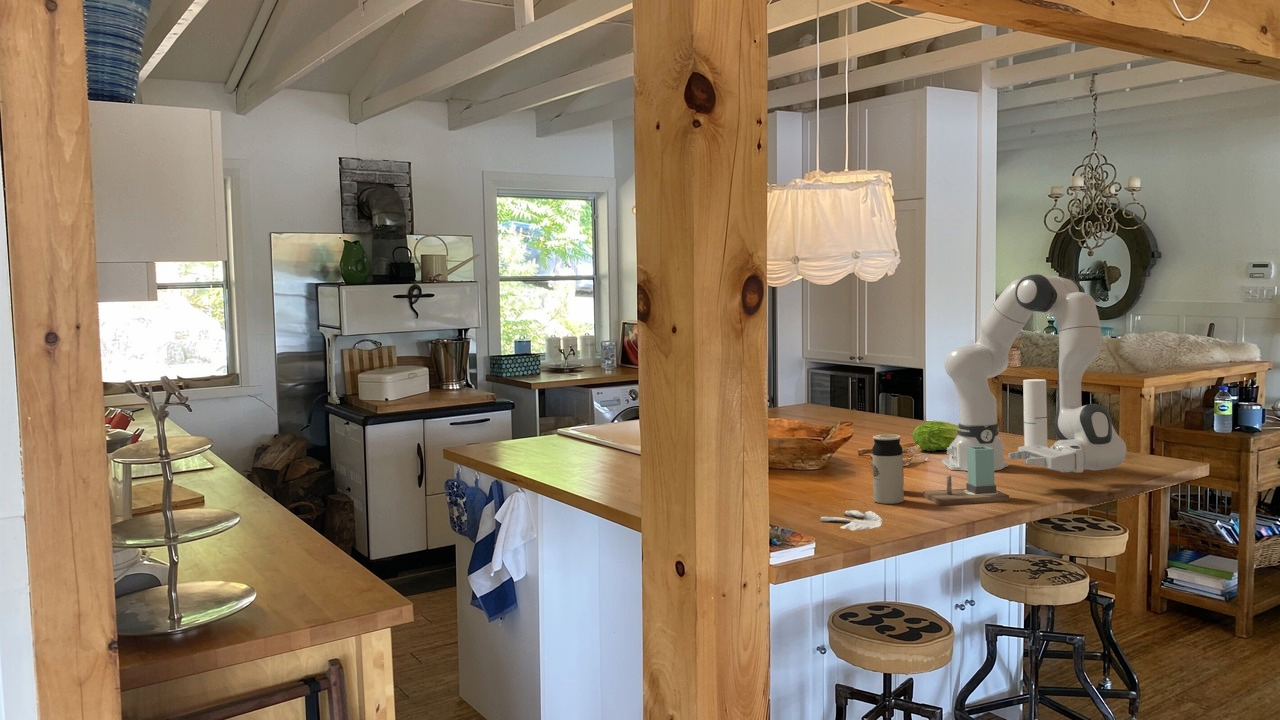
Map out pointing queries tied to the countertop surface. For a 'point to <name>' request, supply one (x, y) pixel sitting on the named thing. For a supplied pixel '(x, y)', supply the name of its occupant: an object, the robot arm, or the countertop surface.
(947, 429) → the lettuce
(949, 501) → the pin board
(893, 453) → the travel mug
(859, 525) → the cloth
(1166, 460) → the countertop surface
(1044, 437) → the cylindrical container
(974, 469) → the teal sleeve
